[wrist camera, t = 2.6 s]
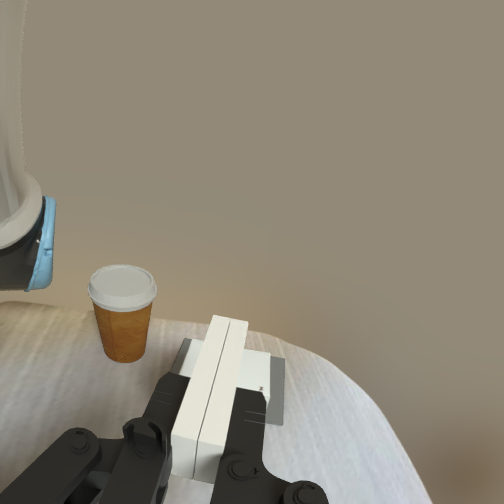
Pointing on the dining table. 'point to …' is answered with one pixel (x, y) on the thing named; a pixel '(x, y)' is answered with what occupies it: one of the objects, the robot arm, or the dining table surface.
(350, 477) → the dining table surface
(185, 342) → the rubber mat
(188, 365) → the small box
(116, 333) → the disposable coffee cup
